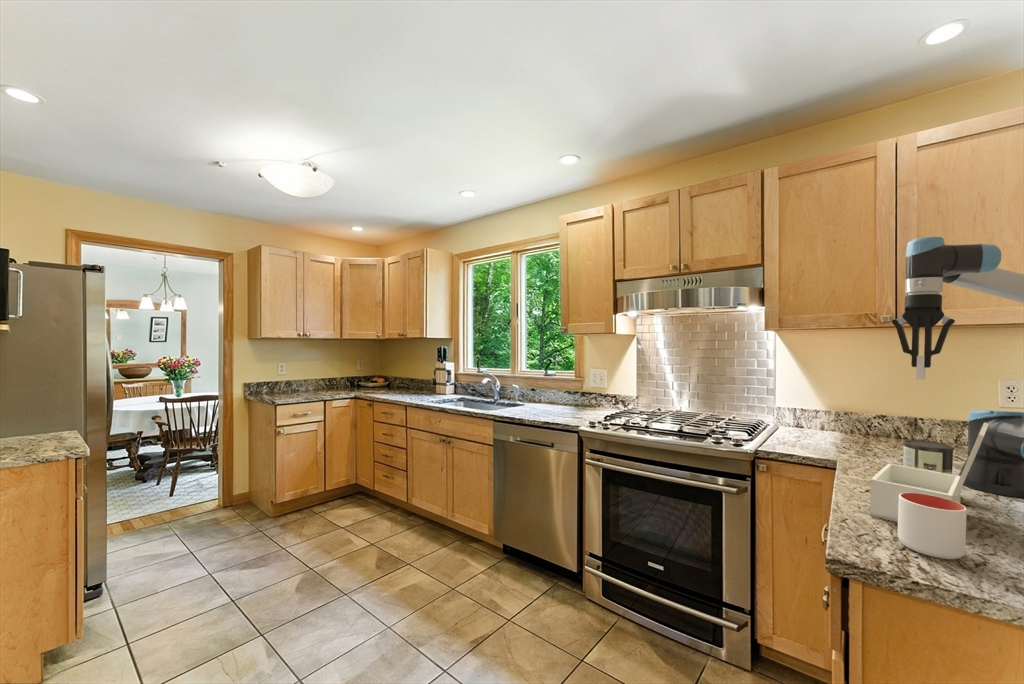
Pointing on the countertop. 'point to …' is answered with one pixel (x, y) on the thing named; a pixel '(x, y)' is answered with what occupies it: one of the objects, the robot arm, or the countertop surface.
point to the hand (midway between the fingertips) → (920, 379)
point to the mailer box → (907, 488)
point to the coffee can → (928, 456)
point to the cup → (932, 525)
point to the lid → (970, 459)
